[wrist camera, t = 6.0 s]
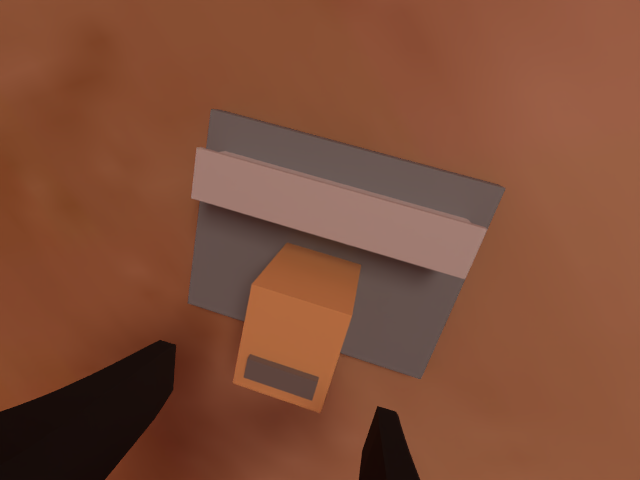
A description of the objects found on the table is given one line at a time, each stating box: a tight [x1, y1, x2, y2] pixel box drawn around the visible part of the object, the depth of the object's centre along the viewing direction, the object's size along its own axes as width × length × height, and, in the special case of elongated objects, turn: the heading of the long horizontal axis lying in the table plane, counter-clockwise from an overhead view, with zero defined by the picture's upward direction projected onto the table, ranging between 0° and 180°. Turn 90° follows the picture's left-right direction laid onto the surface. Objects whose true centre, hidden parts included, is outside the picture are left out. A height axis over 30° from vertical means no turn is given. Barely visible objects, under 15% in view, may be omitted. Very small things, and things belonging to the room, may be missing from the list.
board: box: [188, 109, 506, 379], centre depth 17 cm, size 14×11×4 cm
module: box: [233, 243, 361, 413], centre depth 16 cm, size 4×5×5 cm
